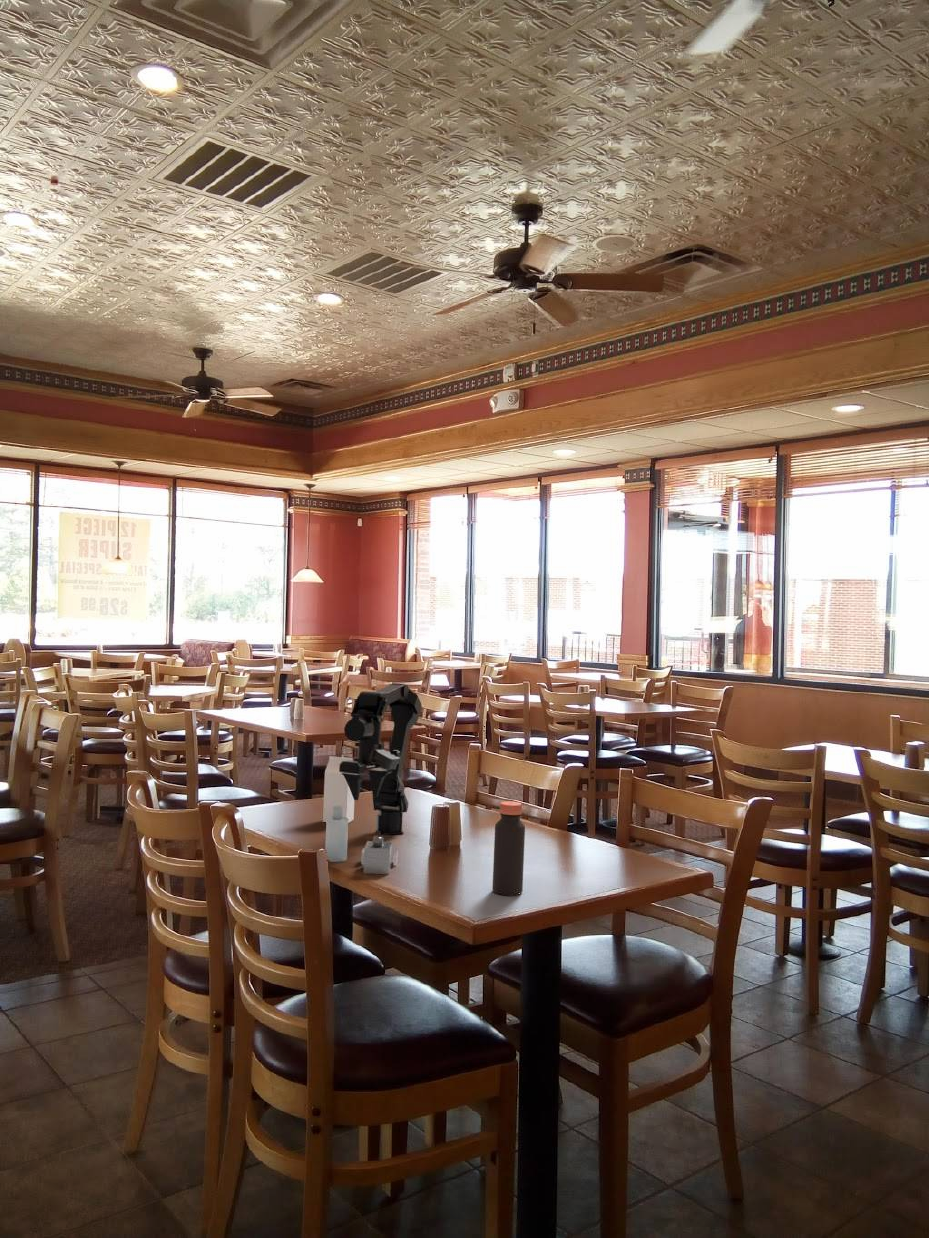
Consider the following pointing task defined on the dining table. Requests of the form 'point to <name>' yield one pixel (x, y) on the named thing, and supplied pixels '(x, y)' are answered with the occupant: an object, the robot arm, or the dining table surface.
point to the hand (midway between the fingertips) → (365, 798)
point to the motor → (378, 856)
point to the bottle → (509, 850)
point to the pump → (336, 836)
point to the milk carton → (337, 790)
